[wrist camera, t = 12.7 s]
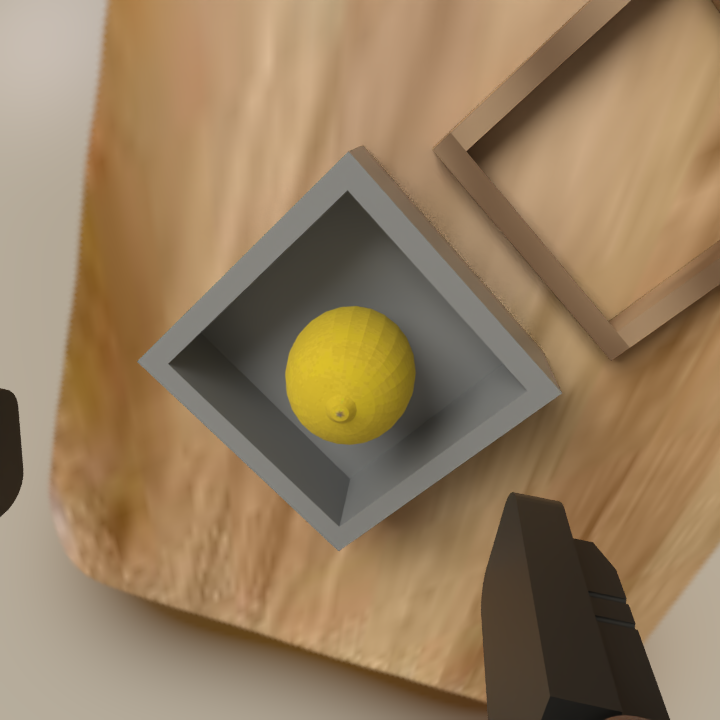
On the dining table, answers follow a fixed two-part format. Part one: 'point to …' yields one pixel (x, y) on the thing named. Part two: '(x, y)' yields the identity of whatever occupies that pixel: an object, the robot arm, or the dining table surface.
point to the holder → (609, 336)
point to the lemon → (350, 375)
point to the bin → (342, 289)
